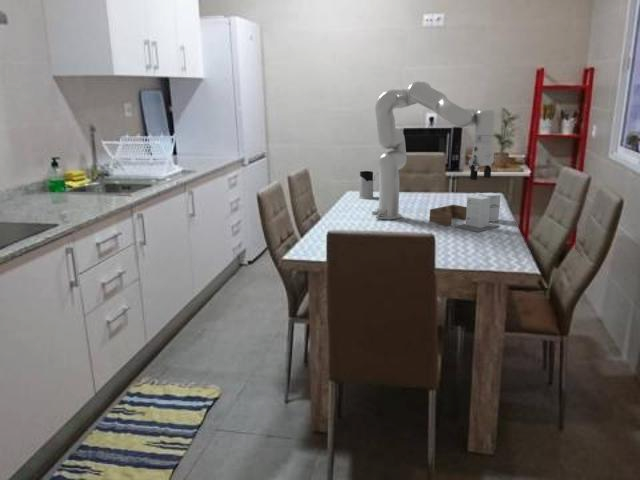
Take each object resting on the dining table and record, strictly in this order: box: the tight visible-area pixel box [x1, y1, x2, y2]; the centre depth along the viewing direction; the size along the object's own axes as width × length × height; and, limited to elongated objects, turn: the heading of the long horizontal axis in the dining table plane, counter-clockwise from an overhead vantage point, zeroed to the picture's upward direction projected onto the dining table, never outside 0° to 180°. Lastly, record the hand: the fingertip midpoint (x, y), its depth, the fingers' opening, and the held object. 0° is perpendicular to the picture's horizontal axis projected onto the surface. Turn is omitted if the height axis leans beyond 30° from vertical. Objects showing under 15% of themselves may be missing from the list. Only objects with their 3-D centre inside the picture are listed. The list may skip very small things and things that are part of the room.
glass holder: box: [358, 170, 379, 200], centre depth 307 cm, size 9×14×15 cm, turn 118°
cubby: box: [429, 204, 467, 227], centre depth 248 cm, size 17×12×6 cm
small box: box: [465, 195, 490, 228], centre depth 236 cm, size 8×6×13 cm
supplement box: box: [478, 192, 501, 222], centre depth 249 cm, size 7×7×13 cm
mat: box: [454, 223, 500, 233], centre depth 237 cm, size 16×12×1 cm
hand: (480, 178), depth 232 cm, fingers open, 9 cm apart
